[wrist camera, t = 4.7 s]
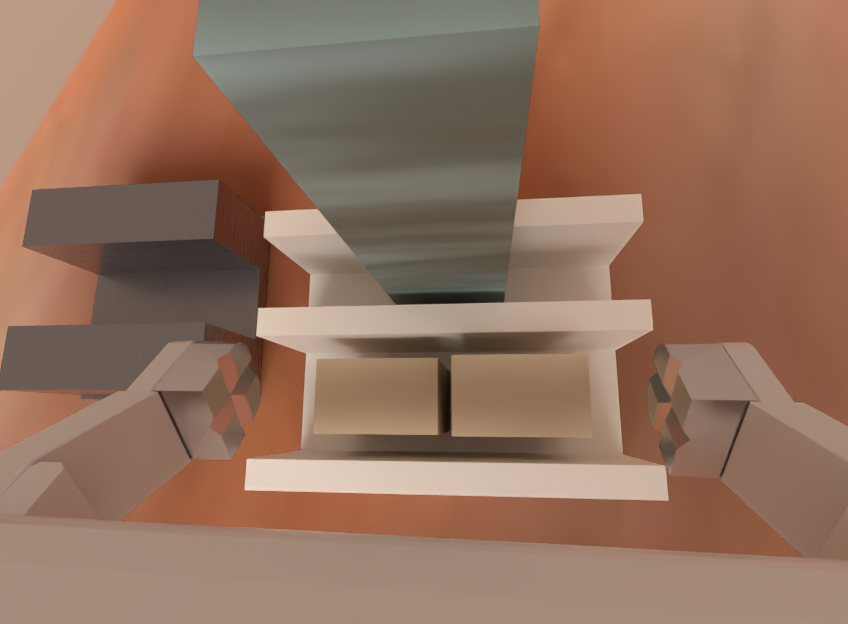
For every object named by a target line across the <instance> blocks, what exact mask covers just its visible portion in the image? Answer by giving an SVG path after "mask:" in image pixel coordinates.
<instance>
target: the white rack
mask: <svg viewBox="0 0 848 624" xmlns="http://www.w3.org/2000/svg"><path fill="white" fill-rule="evenodd" d="M643 222H644V219H643V208H642V197H641V194H627V195H605V196H584V197H563V198H541V199H520V200H517V205H516V213H515V220H514V228H513V236H512V244H511V252H510V259H509V267H508V275H507V283H506V290H505V298H504V303H464V304H419V305H396V304H395V303H394V302H393V301H392V299H391V298H390V297H389V296H388V294H387V293H386V292H385V291H384V290H383V288H382V287H381V286H380V285H379V283H378V282H377V281H376V280H375V279H374V277H373V276H372V275H371V274H370V272H369V271H368V270H367V269H366V268H365V266H364V265H363V264H362V263H361V261H360V260H359V259H358V258H357V257H356V255H355V254H354V253H353V252H352V250H351V249H350V248H349V247H348V246H347V244H346V243H345V242H344V241H343V239H342V238H341V237H340V236H339V235H338V233H337V232H336V231H335V230H334V228H333V227H332V226H331V225H330V224H329V222H328V221H327V220H326V219H325V217H324V216H323V215H322V214H321V213H320V211H319V210H318V209H308V210H286V211H265V224H264V238H265V239H267V240H268V241H269V242H270V243H272V244H273V245H274V246H275V247H276V248H278V249H279V250H280V251H281V252H283V253H284V254H285V255H286V256H288V257H289V258H290V259H291V260H293V261H294V262H295V263H296V264H298V265H299V266H300V267H301V268H303V269H304V270H305V271H306V272H308V273H309V274H310V290H309V307H285V308H258V317H257V331H256V336H258V337H261V338H264V339H266V340H269V341H272V342H275V343H278V344H280V345H283V346H286V347H289V348H292V349H295V350H297V351H300V352H303V353H306V365H305V383H304V402H303V420H302V439H301V450H297V451H291V452H285V453H279V454H273V455H267V456H261V457H255V458H249V459H247V464H246V478H245V490H256V491H296V492H337V493H378V494H418V495H459V496H500V497H540V498H581V499H622V500H662V501H669V500H668V489H667V477H666V466H665V465H661V464H657V463H653V462H650V461H646V460H642V459H638V458H635V457H631V456H627V455H624V454H623V449H622V435H621V422H620V408H619V394H618V380H617V367H616V353H615V350H617V349H619V348H621V347H622V346H624V345H626V344H628V343H630V342H632V341H634V340H635V339H637V338H639V337H641V336H643V335H645V334H647V333H648V332H650V331H652V330H653V320H652V309H651V299H643V300H612V298H611V284H610V270H609V265H610V264H611V263H612V261H613V260H614V259H615V258H616V256H617V255H618V254H619V252H620V251H621V250H622V249H623V247H624V246H625V245H626V244H627V242H628V241H629V240H630V238H631V237H632V236H633V235H634V233H635V232H636V231H637V230H638V228H639V227H640V226H641V224H642V223H643ZM586 353H588V368H589V384H590V400H591V417H592V433H593V438H560V437H462V436H452V394H451V355H484V354H586ZM355 358H438V359H439V360H440V361H441V362H442V363H443V365H444V366H445V367H446V368H447V369H448V370H449V424H450V431H449V432H446V433H443V434H439V435H384V434H313V426H314V406H315V385H316V365H317V359H355Z"/></svg>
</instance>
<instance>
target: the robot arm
mask: <svg viewBox="0 0 848 624" xmlns="http://www.w3.org/2000/svg"><path fill="white" fill-rule="evenodd" d="M250 360H251V355H250V352H249V350H248V347H247V345H245V344H244V343H242V342H225V341H173V342H170V343H168V344H167V345H166V346H165V347H164V348H163V350H162V351H161V352H160V353H159V354H158V355H157V356H156V357H155V359H154V360H153V361H152V362H151V363H150V364H149V365H148V366H147V368H146V369H145V370H144V371H143V372H142V373H141V374H140V375H139V376H138V378H137V379H136V380H135V381H134V382H133V383H132V384H131V385H130V387H129V388H128V389H127V390H126V391H117V392H115V393H113V394H111V395H110V396H108V397H106V398H104V399H102V400H100V401H98V402H96V403H94V404H92V405H90V406H88V407H86V408H84V409H82V410H80V411H78V412H76V413H75V414H73V415H71V416H69V417H67V418H65V419H63V420H61V421H59V422H57V423H55V424H53V425H51V426H49V427H47V428H45V429H43V430H42V431H40V432H38V433H36V434H34V435H32V436H30V437H28V438H26V439H24V440H22V441H20V442H18V443H16V444H14V445H12V446H10V447H8V448H7V449H5V450H3V451H1V452H0V624H848V426H846V425H844V424H843V423H841V422H839V421H837V420H835V419H833V418H832V417H830V416H828V415H826V414H824V413H822V412H821V411H819V410H817V409H815V408H813V407H811V406H810V405H808V404H806V403H802V402H794V401H793V400H792V398H791V397H790V395H789V394H788V393H787V391H786V390H785V389H784V387H783V386H782V385H781V383H780V382H779V380H778V379H777V378H776V376H775V375H774V374H773V372H772V371H771V370H770V368H769V367H768V366H767V364H766V363H765V361H764V360H763V359H762V357H761V356H760V355H759V353H758V352H757V351H756V349H755V348H754V346H753V345H751V344H749V343H748V342H723V343H716V344H659V345H658V347H657V349H656V350H655V355H654V359H653V362H654V365H655V367H656V369H657V373H656V374H655V375H654V376H652V377H651V378H650V379H649V382H648V388H647V411H648V416H649V420H650V423H651V425H652V428H653V429H654V430H656V431H657V432H658V433H659V434H661V435H662V436H661V441H660V445H659V448H660V450H661V453H662V456H663V458H664V461H665V464H666V466H667V469H668V472H669V474H670V475H671V476H688V477H704V478H721V481H722V482H723V483H724V484H725V485H726V486H727V487H728V488H729V489H730V490H731V491H732V492H733V493H735V494H736V495H737V496H738V497H739V498H740V499H741V500H742V501H743V502H744V503H745V504H746V505H748V506H749V507H750V508H751V509H752V510H753V511H754V512H755V513H756V514H757V515H758V516H760V517H761V518H762V519H763V520H764V521H765V522H766V523H767V524H768V525H769V526H770V527H771V528H773V529H774V530H775V531H776V532H777V533H778V534H779V535H780V536H781V537H782V538H783V539H784V540H786V541H787V542H788V543H789V544H790V545H791V546H792V547H793V548H794V549H795V550H796V551H798V552H799V553H800V554H801V555H802V556H803V557H787V556H768V555H749V554H731V553H712V552H693V551H675V550H656V549H637V548H619V547H601V546H582V545H564V544H545V543H527V542H508V541H490V540H472V539H453V538H434V537H416V536H397V535H378V534H360V533H341V532H322V531H304V530H285V529H266V528H248V527H229V526H210V525H192V524H173V523H155V522H136V521H120V520H121V519H122V518H124V517H125V516H126V515H127V514H128V513H130V512H131V511H132V510H133V509H134V508H136V507H137V506H138V505H139V504H141V503H142V502H143V501H144V500H145V499H147V498H148V497H149V496H150V495H151V494H153V493H154V492H155V491H156V490H157V489H159V488H160V487H161V486H162V485H163V484H165V483H166V482H167V481H168V480H170V479H171V478H172V477H173V476H174V475H176V474H177V473H178V472H179V471H180V470H182V469H183V468H184V467H185V466H186V465H188V464H189V463H190V462H191V460H231V459H232V457H233V455H234V453H235V451H236V450H237V448H238V446H239V444H240V442H241V440H242V439H243V437H244V435H245V434H244V431H243V428H242V426H243V425H245V424H246V423H247V422H249V421H250V420H252V419H253V418H254V416H255V414H256V412H257V410H258V408H259V403H260V398H261V389H260V382H259V379H258V376H257V374H256V373H255V372H253V371H252V370H251V369H250V368H249V367H248V364H249V362H250Z"/></svg>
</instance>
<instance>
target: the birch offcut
mask: <svg viewBox="0 0 848 624" xmlns="http://www.w3.org/2000/svg"><path fill="white" fill-rule="evenodd" d="M449 431H450V424H449V370H448V369H447V368H446V367H445V366H444V365H443V363H442V362H441V361H440V360H439V359H438V358H355V359H317V365H316V385H315V406H314V426H313V434H384V435H439V434H443V433H446V432H449Z"/></svg>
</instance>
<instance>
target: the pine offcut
mask: <svg viewBox="0 0 848 624" xmlns="http://www.w3.org/2000/svg"><path fill="white" fill-rule="evenodd" d="M451 394H452V436H462V437H560V438H593V433H592V417H591V400H590V384H589V368H588V353H586V354H484V355H451Z"/></svg>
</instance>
